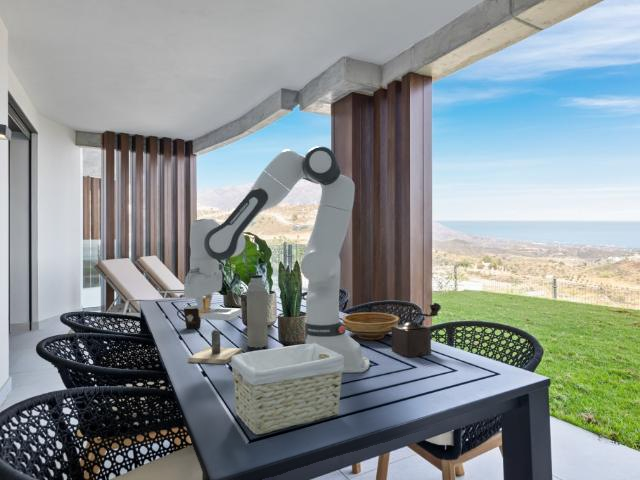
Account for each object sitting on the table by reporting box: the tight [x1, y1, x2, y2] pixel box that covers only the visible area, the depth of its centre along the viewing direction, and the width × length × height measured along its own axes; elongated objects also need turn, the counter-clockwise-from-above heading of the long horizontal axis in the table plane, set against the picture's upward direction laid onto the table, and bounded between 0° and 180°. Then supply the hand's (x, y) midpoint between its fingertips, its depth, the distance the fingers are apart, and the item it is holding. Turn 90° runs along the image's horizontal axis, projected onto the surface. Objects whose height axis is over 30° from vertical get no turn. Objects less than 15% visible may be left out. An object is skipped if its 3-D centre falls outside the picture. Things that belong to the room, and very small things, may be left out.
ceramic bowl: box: [341, 312, 400, 340], centre depth 176 cm, size 30×24×8 cm
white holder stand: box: [199, 297, 242, 321], centre depth 137 cm, size 12×10×6 cm
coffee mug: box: [176, 305, 202, 330], centre depth 200 cm, size 12×9×10 cm
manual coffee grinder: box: [391, 302, 442, 359], centre depth 152 cm, size 16×11×18 cm
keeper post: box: [188, 328, 243, 365], centre depth 149 cm, size 14×14×10 cm
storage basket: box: [230, 343, 344, 436], centre depth 100 cm, size 24×16×15 cm
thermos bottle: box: [246, 274, 269, 349], centre depth 165 cm, size 8×8×28 cm
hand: (204, 308), depth 138 cm, fingers closed on white holder stand, 3 cm apart
